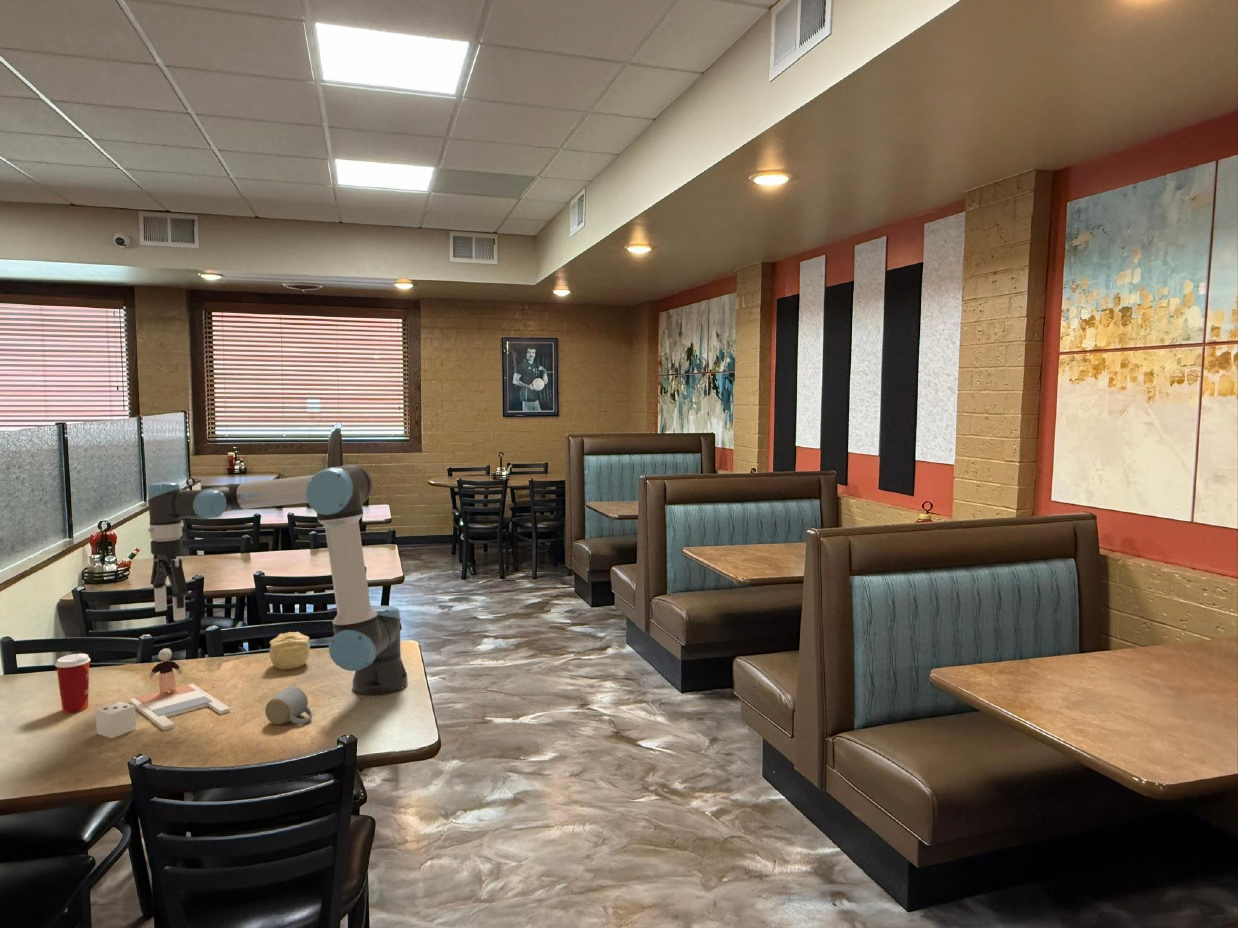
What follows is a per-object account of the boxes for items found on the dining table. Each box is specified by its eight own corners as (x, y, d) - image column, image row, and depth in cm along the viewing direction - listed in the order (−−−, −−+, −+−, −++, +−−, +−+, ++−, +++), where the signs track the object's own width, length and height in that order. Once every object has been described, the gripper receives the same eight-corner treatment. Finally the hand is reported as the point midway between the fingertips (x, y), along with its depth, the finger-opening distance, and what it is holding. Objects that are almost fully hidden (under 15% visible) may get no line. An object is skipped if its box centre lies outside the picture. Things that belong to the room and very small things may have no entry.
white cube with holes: (136, 729, 195) (135, 705, 195) (111, 738, 190) (110, 713, 189) (121, 724, 198) (120, 701, 197) (96, 733, 193) (95, 709, 192)
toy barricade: (230, 711, 206) (230, 707, 206) (163, 730, 195) (163, 725, 194) (192, 687, 224) (192, 682, 224) (129, 702, 212) (129, 698, 212)
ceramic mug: (263, 725, 198) (262, 695, 197) (282, 712, 206) (282, 684, 205) (300, 729, 196) (300, 699, 195) (319, 716, 204) (318, 688, 203)
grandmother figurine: (179, 688, 219) (177, 644, 218) (184, 691, 217) (182, 647, 216) (148, 695, 214) (146, 650, 213) (153, 699, 211) (150, 653, 210)
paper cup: (99, 706, 210) (96, 655, 208) (69, 716, 203) (66, 664, 201) (81, 701, 213) (78, 651, 212) (50, 711, 206) (47, 659, 205)
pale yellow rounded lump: (270, 674, 234) (269, 639, 233) (269, 662, 245) (268, 628, 244) (311, 669, 239) (310, 635, 238) (309, 657, 250) (308, 624, 249)
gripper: (135, 535, 219) (139, 609, 221) (168, 546, 203) (172, 626, 204) (164, 531, 225) (168, 604, 226) (199, 542, 208) (202, 620, 210)
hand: (170, 615), depth 215 cm, fingers open, 13 cm apart
